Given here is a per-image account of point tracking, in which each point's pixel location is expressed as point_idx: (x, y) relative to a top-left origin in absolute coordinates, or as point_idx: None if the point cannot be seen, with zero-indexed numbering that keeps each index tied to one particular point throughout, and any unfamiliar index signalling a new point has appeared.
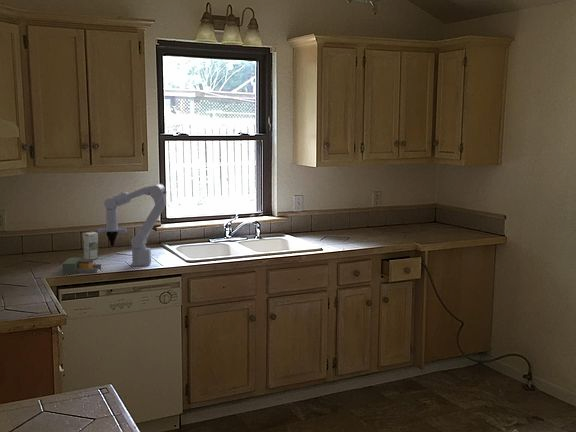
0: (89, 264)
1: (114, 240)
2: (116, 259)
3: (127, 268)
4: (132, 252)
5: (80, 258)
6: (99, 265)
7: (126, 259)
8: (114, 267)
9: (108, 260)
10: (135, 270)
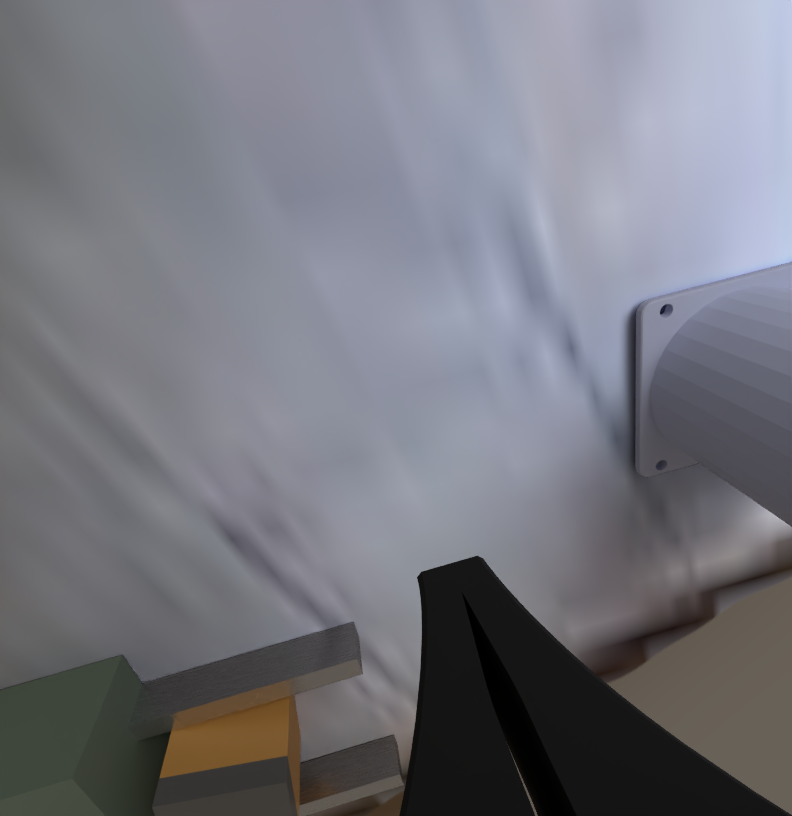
0: (297, 793)
1: (552, 672)
2: (312, 109)
3: (618, 559)
4: (787, 514)
5: (95, 809)
6: (348, 668)
7: (484, 73)
8: None
9: (216, 224)
10: (700, 597)
